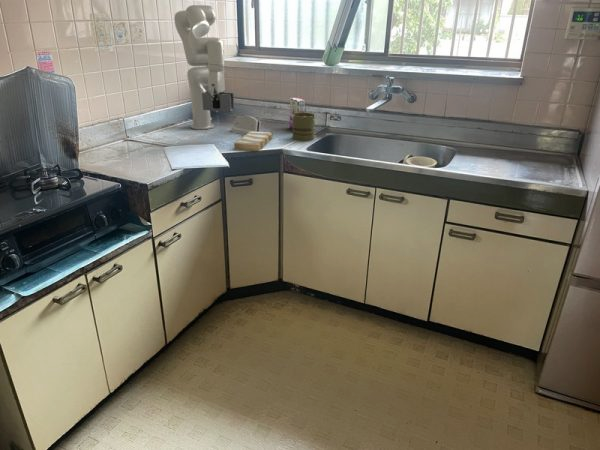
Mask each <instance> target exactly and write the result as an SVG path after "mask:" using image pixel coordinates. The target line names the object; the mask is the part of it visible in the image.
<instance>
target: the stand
mask: <svg viewBox="0 0 600 450" xmlns="http://www.w3.org/2000/svg"><path fill="white" fill-rule="evenodd" d="M273 136H274V135H273V132H269V131H268V132H266V131H260V132H254V131H250V132H248V133H247V134H246V135H245V134H243V136H241V137H240V138H239V139H237V141H235V142H234V145H233V146H234V148H233V149H234V150H236V149H238V150H239V151H249V150H252V151H253V152H260V151H261V150H262V149H264V147H265V146H266V145H268V144H269V143H270V142H271V140H273V139H274V137H273Z"/></svg>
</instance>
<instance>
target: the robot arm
mask: <svg viewBox="0 0 600 450" xmlns="http://www.w3.org/2000/svg"><path fill="white" fill-rule="evenodd" d="M216 15H217V14H216V11H215V10H214V8H213V6H211V5H202V4H201V5H200V4H193V5H189V6H188V7H186V9H185V10H179V11H177V12H176V13H175V14H174V18H173V19H174V25H175V30H176V31H177V34H178V35H179V37H180V39H181V42H182V46H183V51H184V54H185V59H186V62H187V64H188V65H189V66H191V68H189V69H188V70H187V74H186V75H187V76H186V77H187V81H188V84H189V85H188V86H189V90H190V99H191V101H190V102H191V109H192V123H193V124H191V125H190V128H191V129H193V130H199V131H200V130H204V131H205V130H210V129H212V128H214V127H215V124H213V123H212V122H211V121H212V120H213V118H212V117H211V110H203V100H202V93H205V91H207V90H206V88H205V87H207V86H208V91H209V93H211V96H212V100H213V108H215V109H219V108H220V105H219V100H218V99H219V93H221V92H225V90H226V81H225V80H226V79H225V72H226V70H225V68H226V67H225V49H224V47H225V45H224V41H223V40H222V39H220V38H219V37H215V36H214V37H205V36H206V35H208V34H209V31H210V28H211V26H212V25H214V23H215V22H216V18H217V17H216ZM215 92H216V93H215ZM216 95H217V97H216Z"/></svg>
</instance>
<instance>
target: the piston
mask: <svg viewBox="0 0 600 450" xmlns="http://www.w3.org/2000/svg"><path fill="white" fill-rule="evenodd" d="M293 127H294V128H293V129H292V137H291V138H292V140H294V141H297V140H298V142H310V141H315V132H316V131H315V127H316V119H315V113H312V112H306V113H295V116H294V117H293Z"/></svg>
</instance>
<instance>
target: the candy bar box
mask: <svg viewBox="0 0 600 450" xmlns="http://www.w3.org/2000/svg"><path fill="white" fill-rule="evenodd" d="M306 111H307V101H306V100H304V99H302V98H300V97H290V98H289V128H290V129H291V130H293V128H294V127H293V117H294V116H295V113H307V112H306Z"/></svg>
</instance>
